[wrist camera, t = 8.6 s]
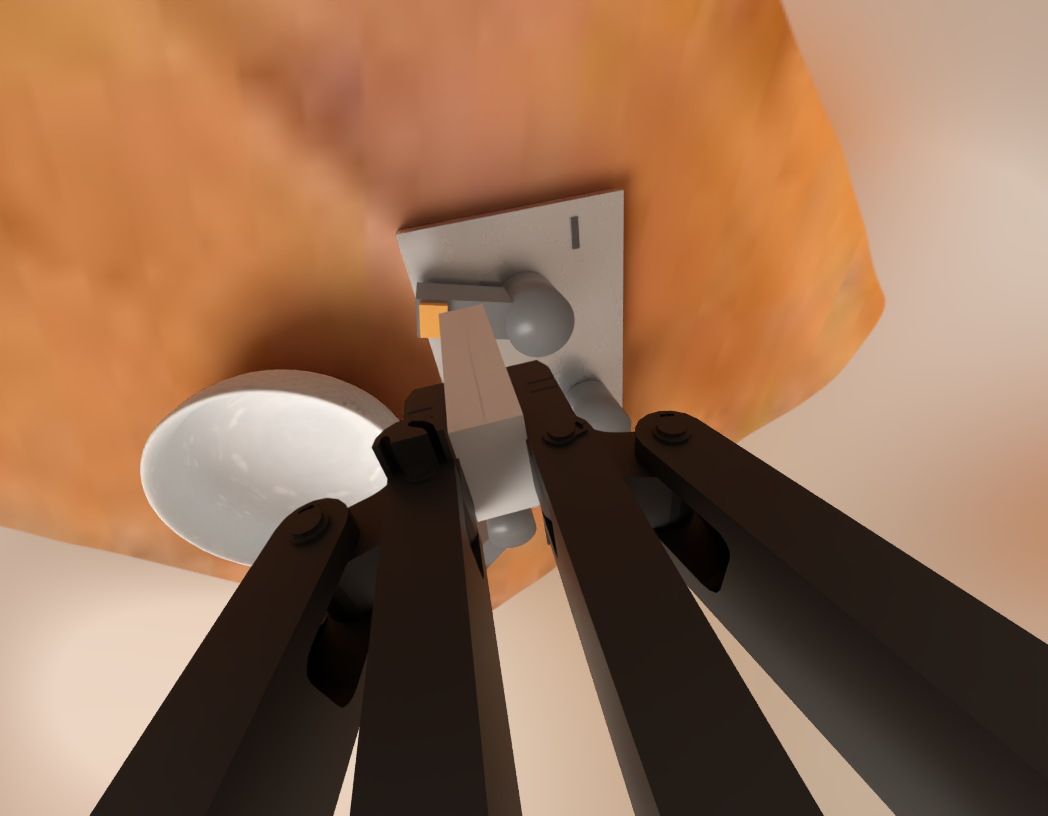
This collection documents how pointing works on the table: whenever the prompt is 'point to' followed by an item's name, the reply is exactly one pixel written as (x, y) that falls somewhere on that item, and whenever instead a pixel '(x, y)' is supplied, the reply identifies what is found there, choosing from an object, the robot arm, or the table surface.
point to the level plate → (547, 249)
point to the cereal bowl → (261, 456)
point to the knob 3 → (598, 407)
